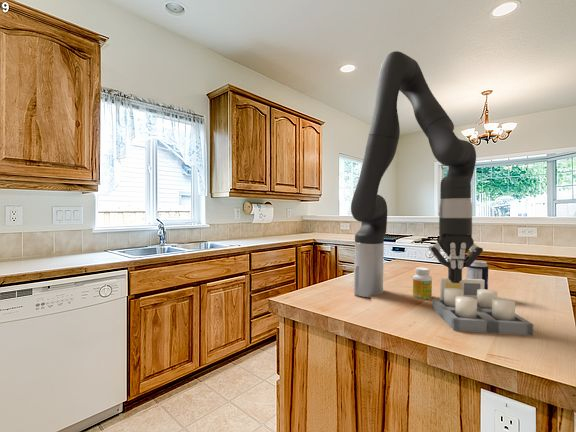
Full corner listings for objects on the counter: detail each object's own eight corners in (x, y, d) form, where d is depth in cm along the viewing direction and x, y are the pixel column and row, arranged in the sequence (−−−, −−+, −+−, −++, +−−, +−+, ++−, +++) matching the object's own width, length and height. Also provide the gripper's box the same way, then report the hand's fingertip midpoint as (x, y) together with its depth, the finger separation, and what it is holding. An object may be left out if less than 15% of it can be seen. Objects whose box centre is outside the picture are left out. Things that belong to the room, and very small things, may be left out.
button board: (453, 334, 69) (454, 295, 69) (430, 309, 87) (431, 277, 86) (532, 340, 66) (533, 299, 66) (492, 312, 84) (493, 279, 84)
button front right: (497, 320, 69) (497, 303, 69) (488, 313, 74) (488, 297, 73) (519, 321, 68) (519, 304, 68) (508, 315, 73) (508, 298, 73)
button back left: (447, 307, 78) (447, 291, 78) (441, 302, 83) (441, 287, 83) (465, 308, 78) (466, 292, 78) (459, 302, 82) (459, 288, 82)
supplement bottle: (423, 303, 92) (423, 271, 92) (408, 298, 97) (409, 267, 97) (435, 300, 95) (435, 269, 94) (420, 296, 99) (421, 266, 99)
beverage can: (490, 303, 92) (491, 263, 92) (470, 301, 94) (471, 262, 93) (482, 297, 98) (483, 260, 98) (463, 296, 99) (464, 259, 99)
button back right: (481, 309, 77) (481, 293, 77) (473, 303, 81) (474, 288, 81) (500, 310, 76) (500, 294, 76) (491, 304, 81) (492, 289, 81)
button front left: (459, 318, 70) (459, 301, 70) (452, 311, 75) (452, 295, 75) (480, 319, 70) (480, 302, 70) (471, 313, 74) (472, 296, 74)
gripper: (432, 216, 77) (432, 285, 77) (490, 216, 75) (489, 287, 75) (424, 216, 84) (424, 278, 85) (476, 216, 82) (476, 280, 83)
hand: (455, 282), depth 80 cm, fingers closed
